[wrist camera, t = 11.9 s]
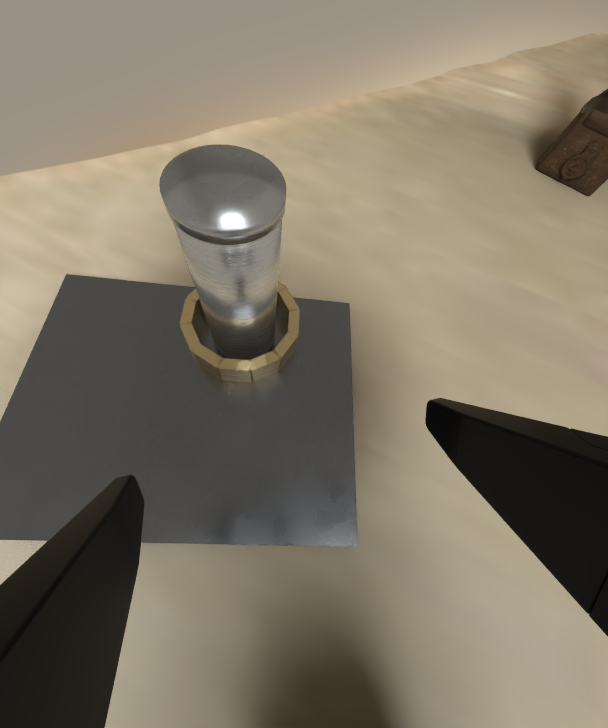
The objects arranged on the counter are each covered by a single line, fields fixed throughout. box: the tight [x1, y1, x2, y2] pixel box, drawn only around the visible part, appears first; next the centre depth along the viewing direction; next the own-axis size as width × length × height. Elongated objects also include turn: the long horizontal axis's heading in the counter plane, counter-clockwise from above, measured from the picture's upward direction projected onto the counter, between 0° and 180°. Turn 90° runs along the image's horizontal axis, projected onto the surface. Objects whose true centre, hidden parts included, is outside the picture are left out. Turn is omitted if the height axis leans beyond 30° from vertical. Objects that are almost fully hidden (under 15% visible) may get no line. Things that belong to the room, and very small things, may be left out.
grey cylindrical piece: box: [160, 145, 286, 360], centre depth 18 cm, size 5×5×13 cm
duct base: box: [0, 274, 357, 547], centre depth 21 cm, size 19×24×3 cm
